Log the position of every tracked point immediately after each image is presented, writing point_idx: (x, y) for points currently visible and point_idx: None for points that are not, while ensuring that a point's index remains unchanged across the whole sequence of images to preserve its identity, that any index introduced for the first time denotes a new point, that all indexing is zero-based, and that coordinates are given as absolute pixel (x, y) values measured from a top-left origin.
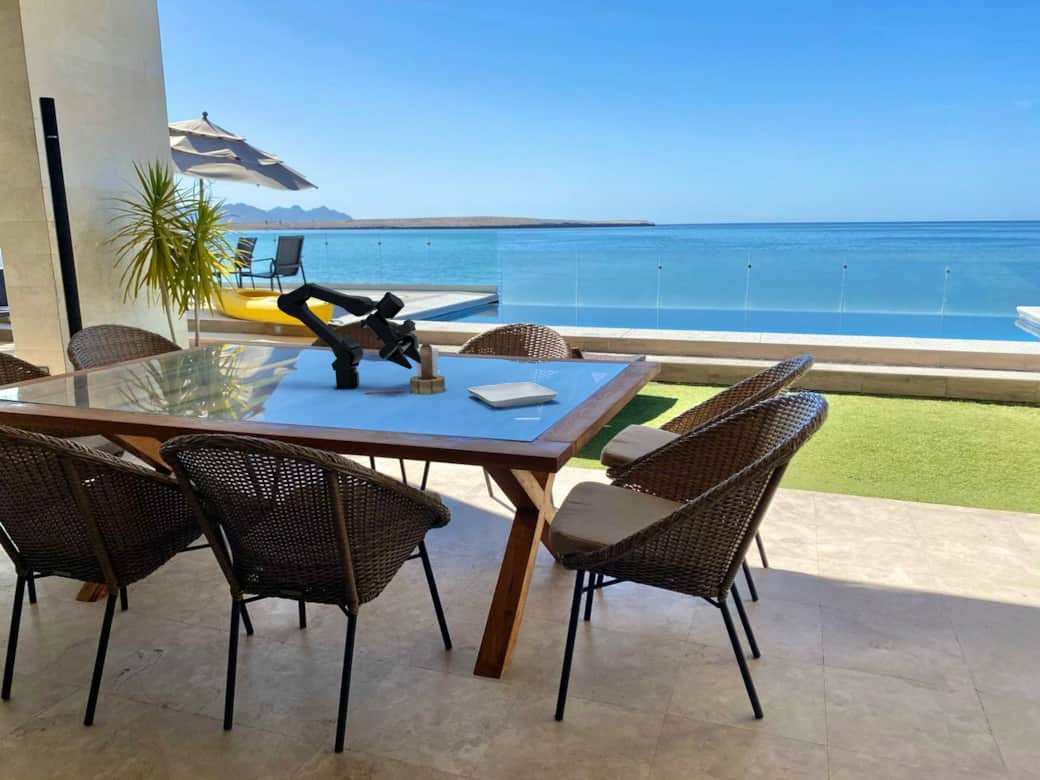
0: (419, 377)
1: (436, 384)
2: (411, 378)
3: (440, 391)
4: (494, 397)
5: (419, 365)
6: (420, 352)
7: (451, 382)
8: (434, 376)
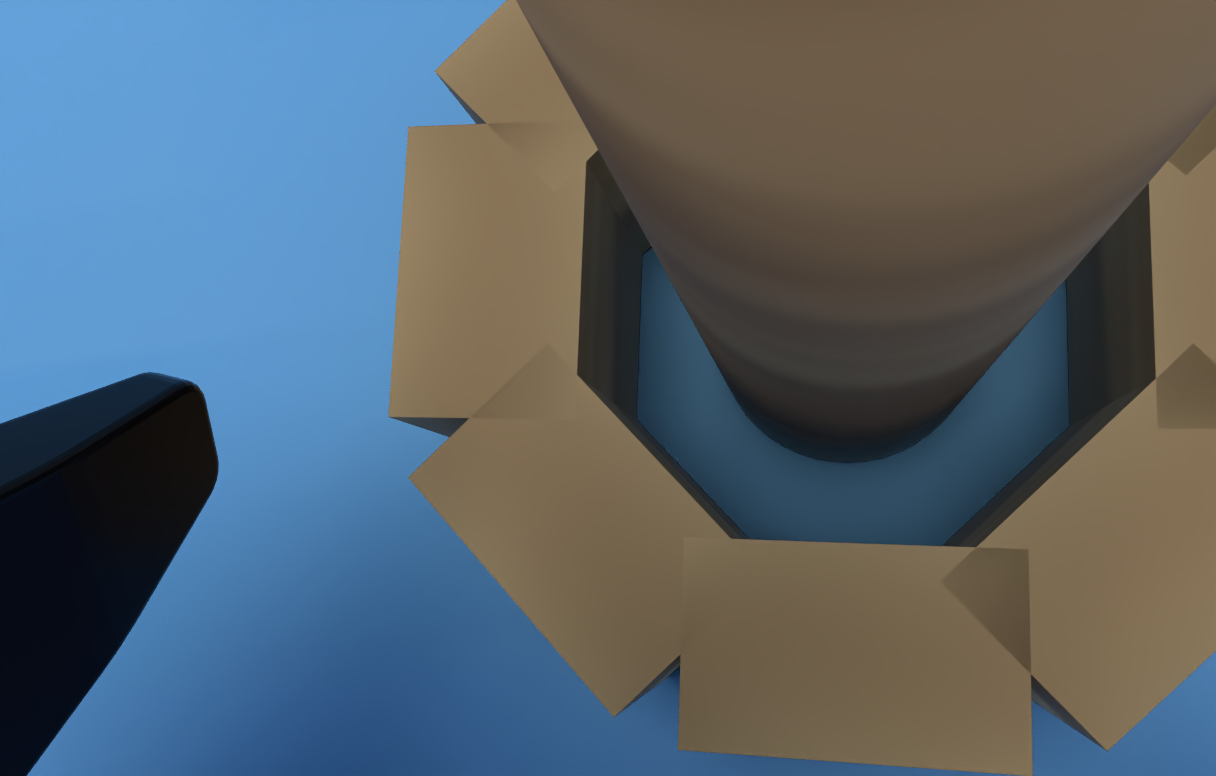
0: (706, 510)
1: None
2: (888, 735)
3: None
4: None
5: None
6: (1129, 94)
7: (100, 3)
8: None
